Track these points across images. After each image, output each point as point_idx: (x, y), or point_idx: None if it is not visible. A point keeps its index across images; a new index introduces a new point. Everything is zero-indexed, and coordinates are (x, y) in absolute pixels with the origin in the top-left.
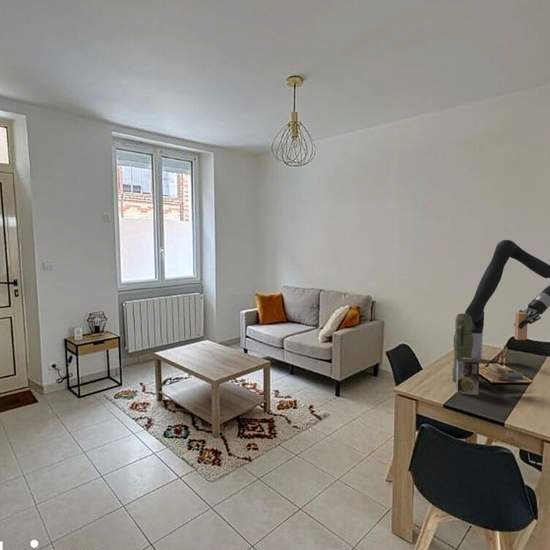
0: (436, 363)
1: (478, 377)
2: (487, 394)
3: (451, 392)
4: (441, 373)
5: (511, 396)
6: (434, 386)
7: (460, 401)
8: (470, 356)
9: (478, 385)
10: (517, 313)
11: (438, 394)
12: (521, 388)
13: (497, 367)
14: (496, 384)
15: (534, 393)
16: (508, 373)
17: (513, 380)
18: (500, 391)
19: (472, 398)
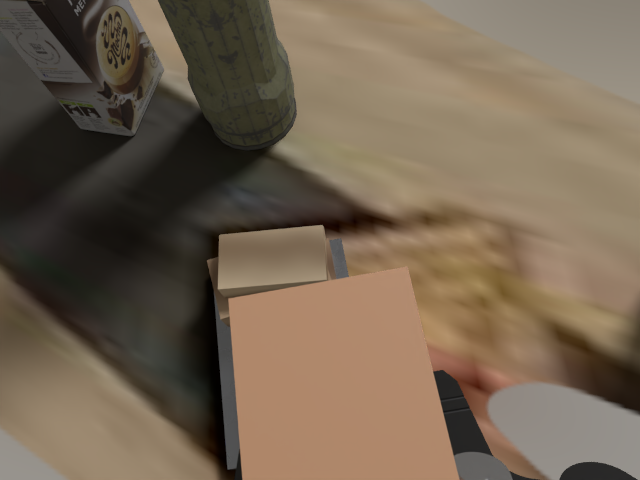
0: (539, 64)
1: (29, 65)
2: (88, 168)
3: None
4: (363, 56)
5: (52, 262)
6: None
7: None
8: (169, 21)
9: (54, 96)
10: (293, 289)
11: None
12: (146, 369)
13: (236, 245)
14: (210, 258)
15: (70, 405)
16: (222, 320)
17: (219, 357)
18: (116, 238)
19: None
